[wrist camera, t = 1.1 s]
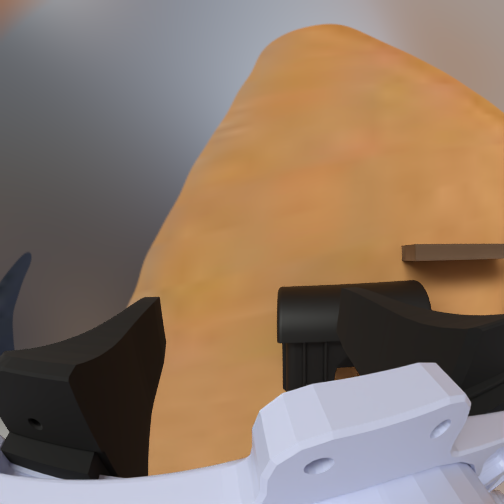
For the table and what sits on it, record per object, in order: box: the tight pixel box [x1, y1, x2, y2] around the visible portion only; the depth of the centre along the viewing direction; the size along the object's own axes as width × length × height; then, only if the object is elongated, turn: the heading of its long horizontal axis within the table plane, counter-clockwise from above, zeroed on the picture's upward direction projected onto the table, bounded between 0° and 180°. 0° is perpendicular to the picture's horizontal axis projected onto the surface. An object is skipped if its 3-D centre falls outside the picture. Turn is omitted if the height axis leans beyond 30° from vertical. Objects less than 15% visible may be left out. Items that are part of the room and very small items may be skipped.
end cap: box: [277, 280, 431, 392], centre depth 20 cm, size 10×7×7 cm
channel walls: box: [402, 244, 504, 261], centre depth 21 cm, size 12×10×3 cm
